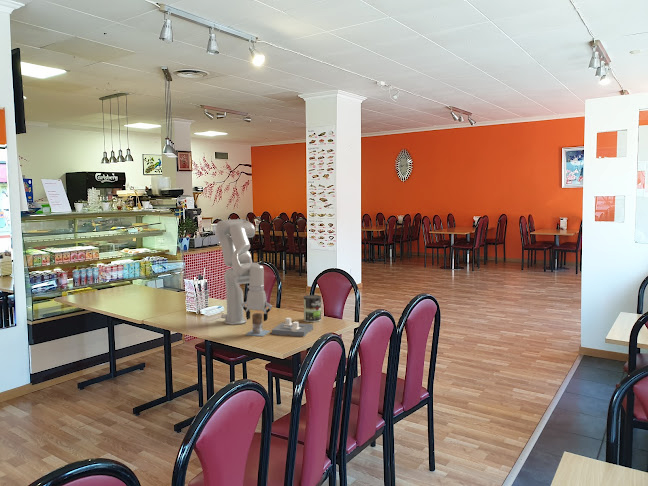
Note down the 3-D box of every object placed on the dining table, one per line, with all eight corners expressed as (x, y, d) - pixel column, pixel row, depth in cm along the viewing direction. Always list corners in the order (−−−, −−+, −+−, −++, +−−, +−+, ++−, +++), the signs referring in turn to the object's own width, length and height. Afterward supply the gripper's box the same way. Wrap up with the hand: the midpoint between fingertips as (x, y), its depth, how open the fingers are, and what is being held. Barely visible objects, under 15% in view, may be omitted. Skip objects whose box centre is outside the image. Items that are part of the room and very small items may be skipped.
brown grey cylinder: (252, 333, 270) (252, 314, 269) (255, 331, 274) (255, 313, 273) (259, 333, 269) (259, 315, 268) (262, 331, 273) (262, 313, 272)
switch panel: (271, 334, 269) (271, 329, 269) (282, 326, 285) (282, 322, 285) (304, 336, 265) (304, 331, 264) (312, 328, 280) (312, 324, 280)
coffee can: (324, 320, 299) (324, 296, 297) (310, 323, 293) (310, 299, 291) (314, 317, 307) (314, 294, 306) (300, 319, 301) (300, 296, 300)
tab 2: (290, 329, 268) (290, 323, 268) (293, 327, 272) (293, 321, 272) (298, 330, 267) (297, 323, 267) (300, 328, 271) (300, 321, 271)
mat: (245, 335, 268) (245, 334, 268) (252, 330, 278) (252, 329, 278) (262, 336, 265) (262, 335, 265) (269, 331, 275) (269, 330, 275)
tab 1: (283, 325, 277) (283, 319, 276) (286, 323, 281) (286, 317, 281) (290, 326, 276) (290, 319, 275) (293, 324, 280) (293, 317, 279)
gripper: (238, 288, 268) (238, 320, 270) (269, 290, 264) (269, 323, 266) (244, 285, 275) (244, 316, 277) (274, 288, 271) (274, 319, 273)
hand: (256, 319), depth 272 cm, fingers open, 9 cm apart
